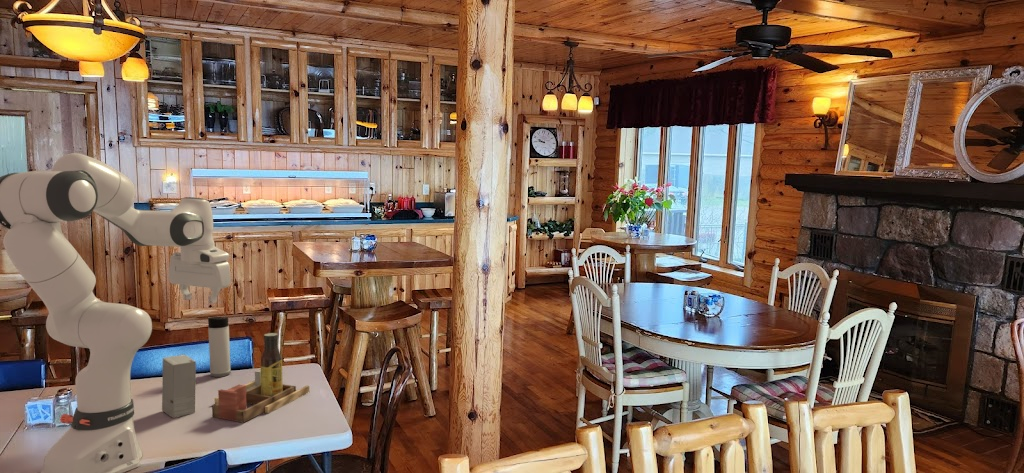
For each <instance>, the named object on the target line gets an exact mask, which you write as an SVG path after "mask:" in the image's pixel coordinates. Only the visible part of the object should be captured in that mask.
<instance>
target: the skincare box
mask: <svg viewBox="0 0 1024 473" xmlns="http://www.w3.org/2000/svg"><path fill="white" fill-rule="evenodd" d="M196 362H197V361H196V360H195V359H193V358H192V356H191V357H190V356H188V355H186V354H179V355H173V356H165V357H163V358H162V390H161V391H162V392H161V395H162V397H161V401H162V402H161V411H162V412H164V413H165V414H167V415H168V416H169V417H171V418H173V419H176V418H179V417H183V416H188V415H192V414H195V413H196V374H197V372H196V370H197V369H196V368H197V367H196V366H197V363H196Z"/></svg>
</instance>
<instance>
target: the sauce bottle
mask: <svg viewBox="0 0 1024 473" xmlns="http://www.w3.org/2000/svg"><path fill="white" fill-rule="evenodd" d="M278 335H279V334H278V333H276V332H268V333H264V334H263V340H264V347H263V348H264V351H262V354H261V356H260V369H261V394H262V395H266V396H274V395H276V394H278V393H280V392H282V391H283V384H284V382H283V358H282V356H281V354H280V350H279V347H278V339H279V336H278Z"/></svg>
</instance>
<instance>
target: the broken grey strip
mask: <svg viewBox="0 0 1024 473" xmlns="http://www.w3.org/2000/svg"><path fill="white" fill-rule="evenodd" d="M254 380H255V386H253V387H250V388H248V389H246V391H247V390H250V389H252V388H254V387H256V386H258V385H261V368H260V369H259V368H258V369H257V370H255V371H254Z"/></svg>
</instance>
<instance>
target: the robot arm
mask: <svg viewBox="0 0 1024 473" xmlns="http://www.w3.org/2000/svg"><path fill="white" fill-rule="evenodd" d="M135 199H136V187H135V184H134V183H133V181H132V180H131V179H130V178H129V177H128V176H127V175H125V174H124V173H123V172H121V171H119V170H118V169H115V167H112V166H111V165H109V164H107V163H105V162H103V161H101V160H99V159H97V158H94V157H92V156H90V155H89V156H88V155H86V154H83V153H79V152H72V153H68V154H64V155H63V156H61V157H59V158H58V159H57V160H56V161H55V162H54V164H53V165H52V169H51V171H48V170H47V171H45V170H32V171H31V170H30V171H24V172H10V173H8V174H4V175H1V176H0V225H1V226H2V227H4V228H6V229H8V230H7V231H6V233H5V234H4V237H3V241H2V244H3V248H4V250H5V251H6V254H7V256H8V257H9V259H10V261H11V263H12V264H13V266H14V267H15V269H16V270H17V271H18V273H19V275H21V277H22V278H23V279H24V280H25V282H26V283H27V284H28V286H30V287H31V289H32V291H34V292H35V294H36V295H37V297H39V298H40V300H41V301H42V302H43V304H44V305H45V307H46V309H47V312H48V315H47V318H46V321H45V328H46V331H47V334H48V335H49V336H50V338H52V339H53V340H55V341H57V342H59V343H62V344H64V345H67V346H69V347H77V348H83V349H84V348H85V349H89V352H90V354H89V358H88V363H87V366H84V367H83V368H82V369H81V370H80V371H78V373H77V374H76V377H75V380H74V381H75V393H76V394H75V395H76V408H75V411H74V412H73V415H72V414H67V413H63V414H62V415H61V416H60V418H59V421H60V423H61V424H62V423H63V424H65V425H66V424H67V425H68V424H69V425H70V427H69V429H68V430H66V432H65V433H63V435H62V436H61V437H60V438H59V439H58V440H57V441H56V442H55V443H54V444H53V445H52V446H51V448H49V450H48V451H47V452H46V454H45V456H44V461H43V462H44V463H43V470H42V471H40V472H39V473H126V472H128V471H131V470H134V469H136V468H138V467H140V465H141V462H140V461H141V460H140V459H141V458H142V456H143V451H142V450H141V448H140V445H139V441H138V438H137V435H136V434H137V433H136V429H135V423H134V418H133V417H134V415H135V405H134V399H133V398H132V392H131V391H132V388H131V370H132V364H133V361H134V358H135V355H136V354H137V352H138V351H139V350H140V349H141V348H142V347H143V346H144V345H145V344H146V343H147V342H148V341H149V339H150V337H151V335H152V332H153V322H152V318H151V316H150V315H149V313H148V312H146V311H145V310H143V309H141V308H138V307H135V306H132V305H129V304H127V303H125V304H124V303H118V302H117V303H114V302H106V301H103V300H101V299H100V298H98V297H96V295H95V294H94V292H93V290H94V288H95V286H96V283H97V281H96V280H97V279H96V278H97V277H96V276H95V273H94V272H93V270H92V269H91V268H90V267H89V265H88V264H87V263H86V262H85V260H84V259H83V258H82V256H81V255H80V253H79V252H78V251H77V249H76V248H74V246H73V245H72V243H71V242H70V241H69V240H68V239H67V238H66V236H65V235H64V233H63V231H62V230H63V229H62V226H61V222H75V221H78V220H81V219H84V218H86V217H88V216H90V215H91V214H92V213H93V212H94V213H95V214H97V215H98V216H99V217H101V218H102V219H104V220H106V221H107V222H109V223H110V224H111V225H114V226H115V227H117V228H118V229H120V230H122V232H123V233H124V234H125V235H126V236H127V238H128V239H129V240H130V241H131V242H132V243H133V244H135V245H137V246H139V247H153V246H154V247H172V248H174V247H177V248H178V247H179V249H180V252H177V251H174V252H173V253H172V254H171V255H170V258H169V260H170V261H169V264H168V281H169V282H170V284H173V285H179V290H180V291H181V293H182V297H183V299H182V300H184V301H190V300H192V299H193V293H191V292H190V291H189V287H190V286H191V287H200V288H207V289H208V288H210V292H211V295H210V296H208V303H210V304H215V303H217V302H218V296H219V294H220V291H221V289H225V288H229V287H230V285H231V283H232V273H231V265H230V263H229V262H228V261H229V259H230V254H229V253H228V252H226V251H224V250H223V249H220V248H219V247H217V246H215V240H214V236H213V232H214V216H213V210H212V209H213V208H212V206H211V203H210V201H209V200H208V199H205V198H203V197H202V198H200V197H191V196H190V197H189V196H186V197H182V198H180V200H179V201H180V202H179V204H178V205H177V206H176V207H174V208H173V209H170V210H151V209H136V208H135V207H134V206H132V205H133V204H134V202H135Z"/></svg>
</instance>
